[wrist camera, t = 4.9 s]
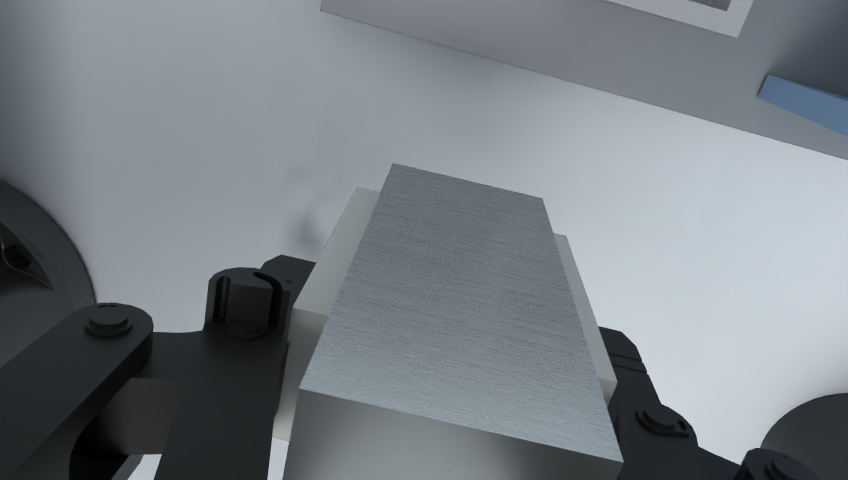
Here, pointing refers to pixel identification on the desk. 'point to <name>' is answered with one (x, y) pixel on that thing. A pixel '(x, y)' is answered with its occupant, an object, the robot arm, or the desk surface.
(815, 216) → the desk surface
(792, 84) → the housing cover
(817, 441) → the water bottle
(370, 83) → the desk surface
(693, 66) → the housing base
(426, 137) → the desk surface
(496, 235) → the steel block
